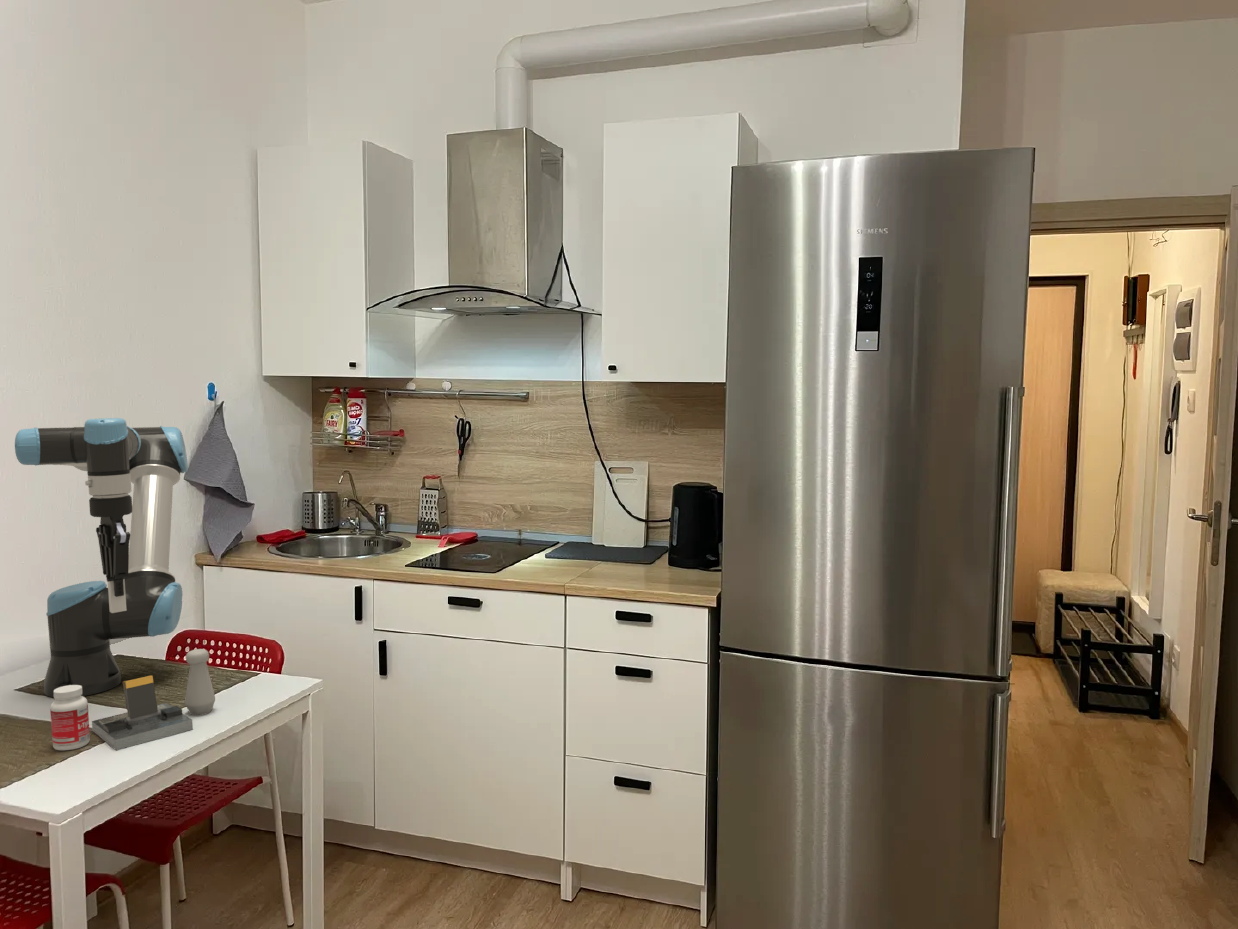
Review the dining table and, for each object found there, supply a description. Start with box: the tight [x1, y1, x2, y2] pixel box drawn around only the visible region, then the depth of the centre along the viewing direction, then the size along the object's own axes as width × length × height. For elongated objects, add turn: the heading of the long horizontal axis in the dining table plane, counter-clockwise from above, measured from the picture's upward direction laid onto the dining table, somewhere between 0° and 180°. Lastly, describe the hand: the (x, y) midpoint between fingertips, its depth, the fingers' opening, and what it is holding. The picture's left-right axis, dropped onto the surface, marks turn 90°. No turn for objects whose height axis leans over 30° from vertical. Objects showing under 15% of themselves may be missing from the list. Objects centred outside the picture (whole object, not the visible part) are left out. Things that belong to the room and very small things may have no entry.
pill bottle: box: [49, 685, 91, 751], centre depth 179 cm, size 6×6×11 cm
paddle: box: [122, 675, 161, 724], centre depth 186 cm, size 2×6×8 cm, turn 135°
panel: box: [91, 702, 194, 751], centre depth 186 cm, size 14×14×3 cm
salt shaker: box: [184, 648, 216, 716], centre depth 195 cm, size 6×6×13 cm
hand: (118, 611), depth 191 cm, fingers closed
